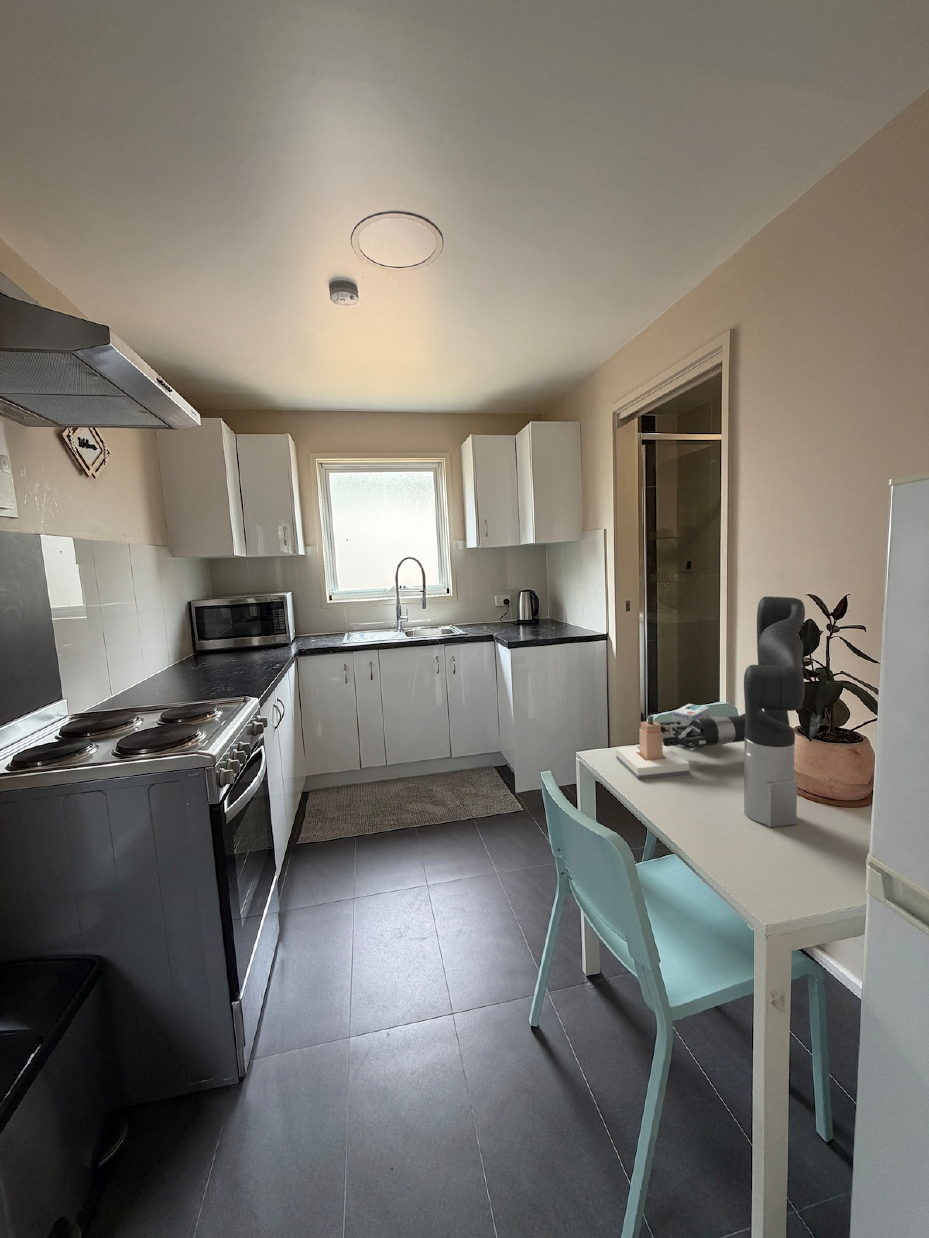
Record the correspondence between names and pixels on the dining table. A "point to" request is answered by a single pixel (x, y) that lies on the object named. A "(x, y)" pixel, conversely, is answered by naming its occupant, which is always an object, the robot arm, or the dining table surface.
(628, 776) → the dining table surface
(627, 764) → the socket plate
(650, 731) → the plug
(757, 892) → the dining table surface
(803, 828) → the dining table surface
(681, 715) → the light bulb box
